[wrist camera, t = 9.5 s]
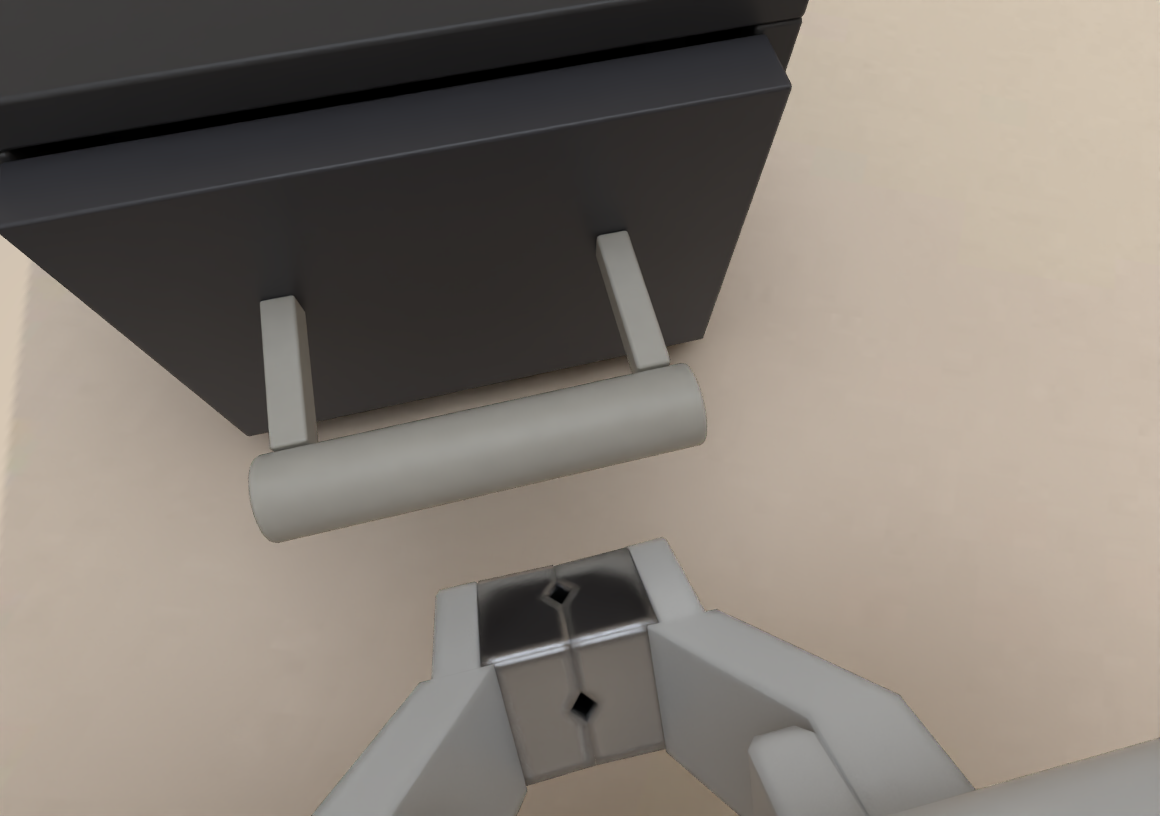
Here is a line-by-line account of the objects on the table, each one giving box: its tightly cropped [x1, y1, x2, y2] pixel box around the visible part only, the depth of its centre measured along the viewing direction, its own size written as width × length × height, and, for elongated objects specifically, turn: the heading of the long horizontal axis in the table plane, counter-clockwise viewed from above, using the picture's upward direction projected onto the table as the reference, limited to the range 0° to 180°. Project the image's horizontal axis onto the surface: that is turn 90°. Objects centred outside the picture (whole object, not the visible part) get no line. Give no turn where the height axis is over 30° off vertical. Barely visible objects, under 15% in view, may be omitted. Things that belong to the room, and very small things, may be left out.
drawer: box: [0, 34, 792, 543], centre depth 15 cm, size 18×11×8 cm, turn 14°
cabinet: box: [0, 0, 809, 165], centre depth 16 cm, size 15×13×10 cm
